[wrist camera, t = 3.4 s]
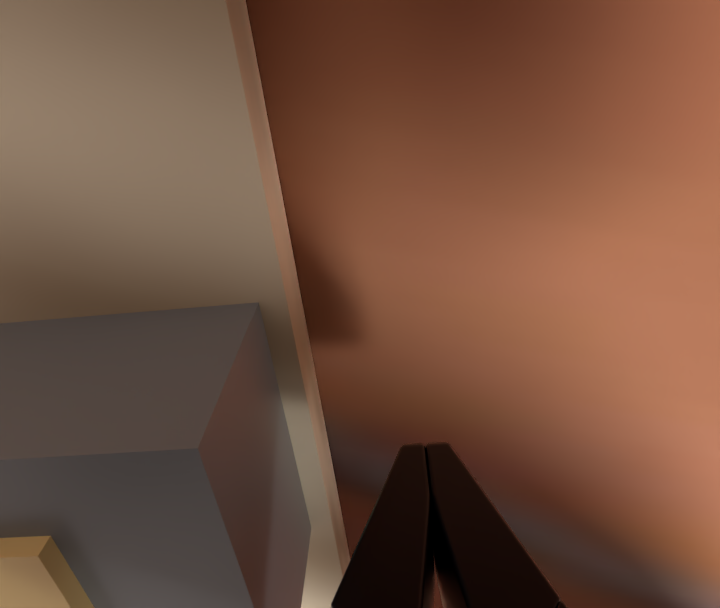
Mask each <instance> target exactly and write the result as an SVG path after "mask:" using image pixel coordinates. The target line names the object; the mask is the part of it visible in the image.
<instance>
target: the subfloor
mask: <svg viewBox="0 0 720 608" xmlns="http://www.w3.org/2000/svg"><path fill="white" fill-rule="evenodd" d="M256 302H259V306H260V310H261V315H262V319H263V323H264V327H265V332H266V336H267V340H268V345H269V349H270V353H271V357H272V362H273V366H274V370H275V374H276V379H277V383H278V387H279V392H280V396H281V400H282V404H283V409H284V413H285V417H286V421H287V426H288V430H289V434H290V439H291V443H292V447H293V451H294V456H295V460H296V464H297V468H298V473H299V477H300V481H301V486H302V490H303V494H304V498H305V503H306V507H307V511H308V515H309V520H310V524H311V535H310V543H309V551H308V558H307V566H306V573H305V581H304V588H303V596H302V604H301V608H332V607H331V603H332V600H333V598H334V596H335V594H336V591H337V589H338V587H339V585H340V582H341V580H342V578H343V576H344V573H345V571H346V569H347V567H348V564H349V562H350V555H349V549H348V544H347V539H346V533H345V528H344V523H343V517H342V512H341V507H340V501H339V496H338V491H337V485H336V480H335V475H334V469H333V464H332V459H331V453H330V448H329V443H328V437H327V432H326V427H325V421H324V416H323V411H322V405H321V400H320V395H319V389H318V384H317V379H316V373H315V368H314V363H313V357H312V352H311V346H310V341H309V336H308V330H307V325H306V320H305V314H304V309H303V304H302V298H301V293H300V288H299V282H298V277H297V272H296V266H295V261H294V256H293V250H292V245H291V240H290V234H289V229H288V224H287V218H286V213H285V208H284V202H283V197H282V192H281V186H280V181H279V176H278V170H277V165H276V160H275V154H274V149H273V144H272V138H271V133H270V128H269V122H268V117H267V112H266V106H265V101H264V96H263V90H262V85H261V79H260V74H259V69H258V63H257V58H256V53H255V47H254V42H253V37H252V31H251V26H250V21H249V15H248V10H247V5H246V0H0V323H11V322H23V321H35V320H48V319H60V318H72V317H85V316H97V315H109V314H121V313H134V312H146V311H158V310H170V309H183V308H195V307H207V306H219V305H232V304H244V303H256Z"/></svg>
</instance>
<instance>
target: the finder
mask: <svg viewBox="0 0 720 608" xmlns="http://www.w3.org/2000/svg"><path fill="white" fill-rule="evenodd" d="M310 535H311V524H310V520H309V515H308V511H307V507H306V503H305V498H304V494H303V490H302V486H301V481H300V477H299V473H298V468H297V464H296V460H295V456H294V451H293V447H292V443H291V439H290V434H289V430H288V426H287V421H286V417H285V413H284V409H283V404H282V400H281V396H280V392H279V387H278V383H277V379H276V374H275V370H274V366H273V362H272V357H271V353H270V349H269V345H268V340H267V336H266V332H265V327H264V323H263V319H262V315H261V310H260V306H259V302H256V303H244V304H232V305H219V306H207V307H195V308H183V309H170V310H158V311H146V312H134V313H121V314H109V315H97V316H85V317H72V318H60V319H48V320H35V321H23V322H11V323H0V608H301V604H302V596H303V588H304V581H305V573H306V566H307V558H308V551H309V543H310Z"/></svg>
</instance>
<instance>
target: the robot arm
mask: <svg viewBox="0 0 720 608" xmlns="http://www.w3.org/2000/svg"><path fill="white" fill-rule="evenodd" d="M434 561H435V569H436V575H437V581H438V586H439V591H440V596H441V601H442V605H443V608H568V606H567V605H566V604H565V603H564V602H563V601H561V598H560V596H559V594H558V593H557V592H556V590H555V589H554V588H553V586H552V585H551V583H550V582H549V581H548V579H547V578H546V576H545V575H544V574H543V572H542V571H541V570H540V568H539V567H538V565H537V564H536V563H535V561H534V560H533V558H532V557H531V556H530V554H529V553H528V552H527V550H526V549H525V547H524V546H523V545H522V543H521V542H520V540H519V539H518V538H517V536H516V535H515V534H514V532H513V531H512V529H511V528H510V527H509V525H508V524H507V523H506V521H505V520H504V518H503V517H502V516H501V514H500V513H499V511H498V510H497V509H496V507H495V506H494V505H493V503H492V502H491V500H490V499H489V498H488V496H487V495H486V493H485V492H484V491H483V489H482V488H481V487H480V485H479V484H478V482H477V481H476V480H475V478H474V477H473V475H472V474H471V473H470V471H469V470H468V469H467V467H466V466H465V464H464V463H463V462H462V460H461V459H460V458H459V456H458V455H457V453H456V452H455V451H454V449H453V448H452V446H451V445H450V444H449V443H447V442H435V443H427V444H426V446H424V444H422V443H415V444H404V445H402V446H401V448H400V450H399V452H398V454H397V456H396V459H395V461H394V463H393V465H392V468H391V470H390V472H389V474H388V477H387V479H386V481H385V483H384V486H383V488H382V490H381V492H380V495H379V497H378V499H377V501H376V504H375V506H374V508H373V510H372V513H371V515H370V517H369V519H368V522H367V524H366V526H365V528H364V531H363V533H362V535H361V537H360V540H359V542H358V544H357V546H356V549H355V551H354V553H353V555H352V558H351V560H350V562H349V564H348V567H347V569H346V571H345V573H344V576H343V578H342V580H341V582H340V585H339V587H338V589H337V591H336V594H335V596H334V598H333V600H332V603H331V607H332V608H434V588H435V570H434ZM560 601H561V602H560Z"/></svg>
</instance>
